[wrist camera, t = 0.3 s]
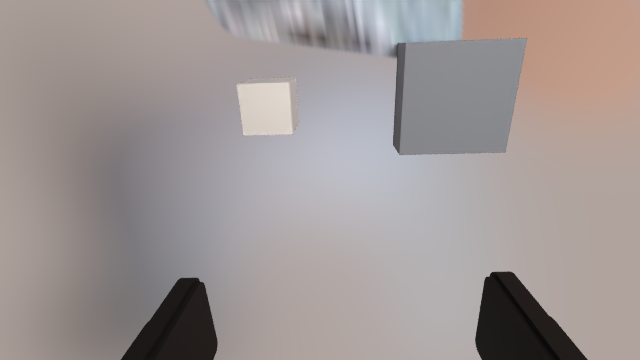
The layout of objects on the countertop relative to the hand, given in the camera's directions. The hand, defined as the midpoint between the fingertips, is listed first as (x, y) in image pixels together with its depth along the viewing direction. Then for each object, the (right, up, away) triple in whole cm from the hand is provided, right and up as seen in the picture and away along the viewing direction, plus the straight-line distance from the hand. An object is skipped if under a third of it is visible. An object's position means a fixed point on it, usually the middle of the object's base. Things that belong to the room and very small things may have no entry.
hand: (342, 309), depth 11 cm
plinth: (+13, +14, +25) cm, 31 cm away
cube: (-6, +13, +26) cm, 30 cm away
